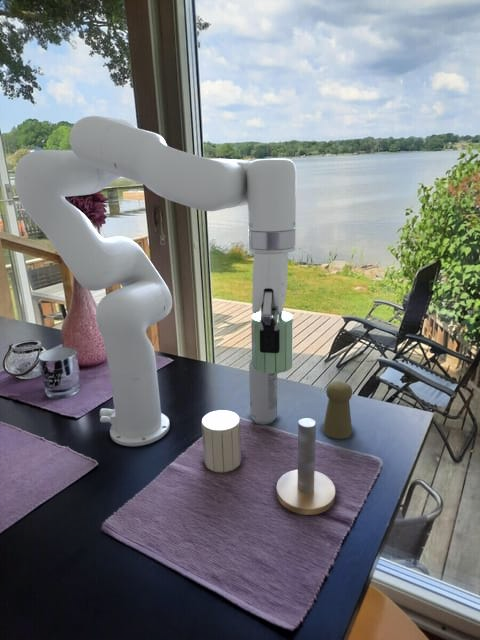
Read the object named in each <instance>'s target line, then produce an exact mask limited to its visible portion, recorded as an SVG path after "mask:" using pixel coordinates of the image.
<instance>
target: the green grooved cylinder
mask: <svg viewBox="0 0 480 640" xmlns="http://www.w3.org/2000/svg"><path fill="white" fill-rule="evenodd" d="M272 311H276V310H272ZM272 318H273V319H274V318H275V316H272ZM260 323H261V311H259V312H257V313H253V314H252V315H251V322H250V324H251V325H250V326H251V328H250V329H251V330H250V331H251V359H252V366H253V367H254V368H255V369H256V370H257V371H260V372H264V373H277V374H281V373H285V372H288V371H289V370H291V369H292V368H293V363H294V315H293V314H292V313H290V312H289V311H284V310H283V311H282V312H281V313H280V314H279V315H278V329H280V350H279V353H262V352H260Z"/></svg>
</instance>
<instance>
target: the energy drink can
mask: <svg viewBox="0 0 480 640" xmlns="http://www.w3.org/2000/svg"><path fill="white" fill-rule="evenodd" d="M248 370H249V371H248V378H249V379H248V380H249V381H248V382H249V383H248V384H249V414H250V418H251V419H252V421H253V422H254V423H256V424H258V425H269V424H272V423H273V422H275V420H276V418H277V417H278V373H264V372H260V371H257V370H256V369H255V368H254V367H253V366H252V358H251V359H250V361H249V363H248Z"/></svg>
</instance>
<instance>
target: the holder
mask: <svg viewBox="0 0 480 640" xmlns="http://www.w3.org/2000/svg"><path fill="white" fill-rule="evenodd" d="M297 423H298V425H297V426H298V427H297V469H292V470H290V471H287V472H286V473H284V474H282V475H281V476H280V477H279V478H278V480H277V483H276V487H275V490H276V491H275V493H276V497H277V500H278V501H279V503H280V504H281V505H282V506H283V507H284V508H285V509H287V510H288V511H290V512H293V513H295V514H299V515H303V516H305V515H307V516H313V515H318V514H322V513H325V512H327V511H328V510H329V509H331V507H333V505H334V503H335V501H336V492H337V491H336V486H335V484H334V482H333V480H331V478H329V477H328V476H327V475H326V474H324V473H322V472H320V471H317V470H316V468H315V467H316V437H317V435H316V434H317V433H316V432H317V422H316V421H315V419H313V418H310V417H303V418H301V419H299V420H298V422H297Z"/></svg>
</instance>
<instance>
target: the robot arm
mask: <svg viewBox="0 0 480 640" xmlns="http://www.w3.org/2000/svg"><path fill="white" fill-rule="evenodd" d="M69 145H70V147H71V150H68V149H67V150H66V149H64V150H63V149H41V150H34V151H30V152H28V153H27V154H25V155H23V156H22V157H21V158H20V159H19V160H18V161H17V163H16V166H15V170H14V188H15V191H16V196H17V198H18V201H19V203H20V205H21V206H22V208H23V210H24V211H25V213H26V215H28V216H29V217H28V218H30V219H31V220H32V222H33V223H34V224H35V225H36V227H38V229H40V230H41V232H42V233H43V234H44V235H45V237H46V238H47V239H48V240H49V242H50V243H51V245H52V246H53V248H54V250H55V251H56V253H57V254H58V255H59V257H60V258H61V260H62V261H63V262H64V264H65V265H66V267H67V268H68V270H69V272H71V274H72V275H73V277H74V278H75V280H76V281H77V282H78V284H79V285H80V286H81V287H82V288H84V289H85V290H88V291H91V292H96V291H101V290H104V289H108V288H110V287H113V286H115V285H118V284H119V285H120V286H121V287H120V288H117V289H115V290H113V291H111V292H109V293H108V294H106V295H104V297H102V298H101V299H100V301H98V304H97V306H96V309H95V321H96V324H97V327H98V329H99V332H100V336H101V338H102V342H103V345H104V349H105V354H106V360H107V367H108V374H109V381H110V387H111V396H112V402H113V408H112V409H111V408H104V407H103V408H101V409H100V410H99V416H100V417H99V422H100V423H104V424H105V423H106V424H108V423H109V424H110V425H111V426H110V429H109V435H110V439H111V440H112V441H113V442H114V443H116V444H117V445H120V446H125V447H140V446H146V445H150V444H152V443H155V442H157V441H159V440H160V439H162V438H163V437H164V436H165V435H167V433H168V432H169V430H170V419H169V417H168V416H167V415H165V414H164V413H162V409H161V408H162V407H161V397H160V390H159V380H158V379H159V378H158V370H157V360H156V359H157V358H156V351H155V349H154V345H153V344H152V342H151V340H150V339H149V337H148V335H147V329H149V328H151V327H152V326H153V325H156V324H158V323H159V322H161V321H162V320H164V319H165V318H166V317H167V316H169V314H170V313H171V310H172V308H173V296H172V294H171V291H170V289H169V286H168V285H167V284H166V282H165V280H164V279H163V278H162V276H161V275H160V273H159V271H158V270H157V269H156V267H155V265H154V264H153V263H152V261H151V259H150V258H149V257H148V255H147V254H146V253H145V250H143V248H142V247H141V246H140V245H139V244H138V243H137V242H135V240H133V239H131V238H129V237H126V236H122V235H116V236H110V237H106V238H105V237H103V236H102V235H101V234H100V233H99V232H98V230H97V229H96V228H95V226H94V225H93V223H92V222H91V220H90V219H89V218H88V217H87V215H86V214H85V213H84V212H82V210H80V209H79V208H77V206H75V205H73V203H70V201H68V200H67V199H66V198H67V197H79V196H87V195H93V194H97V193H99V192H100V191H103V190H104V189H106V188H107V187H108V186H109V185H112V184H113V183H114V182H115V181H117V180H119V179H120V178H124V179H126V180H130V181H133V182H135V183H136V182H137V183H138V184H142V185H144V186H145V187H146V188H147V189H148V190H149V191H151V192H153V193H154V194H156V195H157V196H159V197H161V198H163V199H166V200H169V201H171V202H174V203H177V204H180V205H182V206H186V207H188V208H192V209H194V210H198V211H203V212H216V211H221V210H222V211H223V210H226V209H231V208H232V209H233V208H237V207H242V206H247V236H248V238H247V240H248V243H247V244H248V251H249V252H251V253H253V262H252V297H251V298H252V299H251V304H252V305H251V311H252V312H253V314H255V313H257V312H261V323H260V352H262V353H279V350H280V329H278V315H279V314H280V313H281V312H282V311H284V308H285V303H286V299H287V290H288V273H289V272H288V269H289V265H288V264H289V253H290V252H294V251H296V217H297V216H296V212H297V211H296V210H297V209H296V207H297V167H296V164H295V162H294V161H292V159H289V158H261V159H254V160H243V159H233V158H208V157H204V156H199V155H196V154H192V153H190V152H186V151H183V150H179V149H177V148H173V147H171V146H170V145H168V144H167V143H166V140H165V139H164V137H163V136H162V135H161V134H158V133H156V132H153V131H149V130H145V129H142V128H138V127H137V126H136V125H135V124H133V123H132V122H131V121H128V120H125V119H121V118H112V117H106V116H105V117H104V116H98V115H90V116H85V117H82V118H81V119H79V120H77V121H76V122H75V123H74V124H73V126H72V128H71V129H70V131H69ZM272 310H276V311H272ZM272 316H275V318H274V319H273V318H272Z"/></svg>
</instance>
